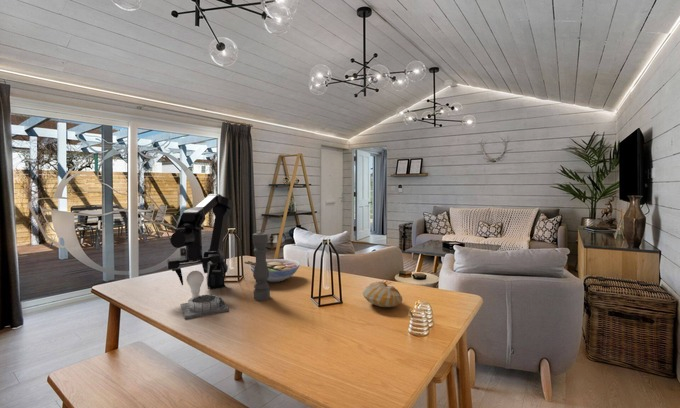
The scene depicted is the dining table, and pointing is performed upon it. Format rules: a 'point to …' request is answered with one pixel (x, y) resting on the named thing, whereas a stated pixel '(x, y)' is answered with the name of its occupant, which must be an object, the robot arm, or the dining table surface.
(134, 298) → the dining table surface
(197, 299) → the bulb socket
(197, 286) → the lightbulb
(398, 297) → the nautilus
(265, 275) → the candle holder
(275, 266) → the ramen bowl
